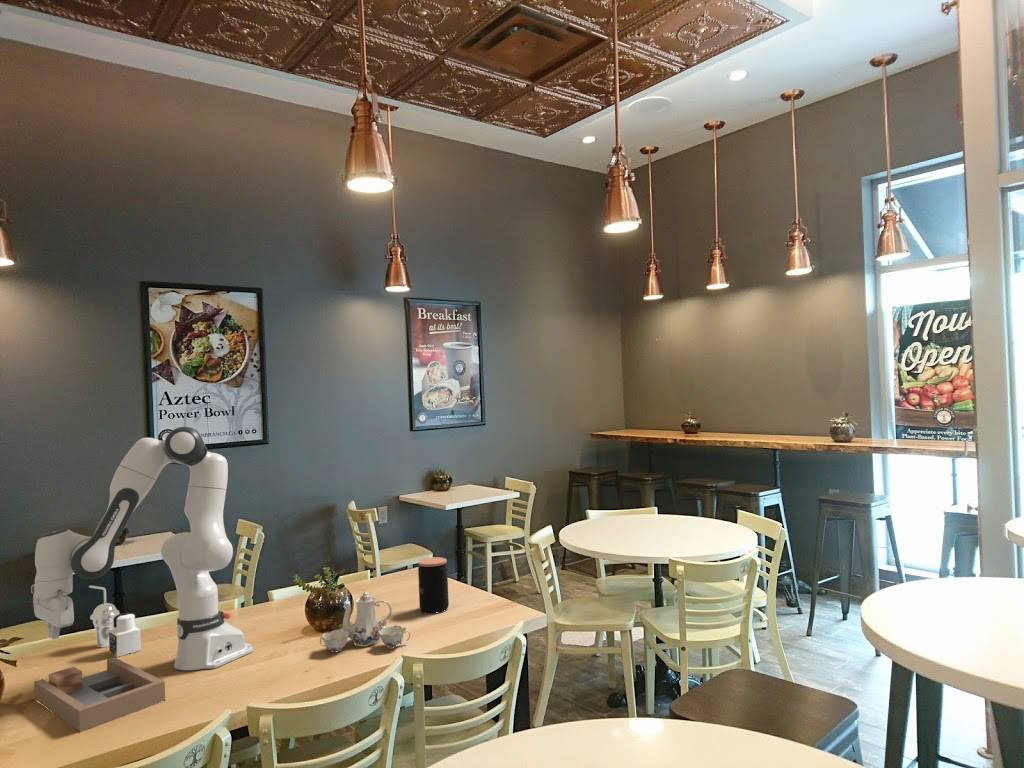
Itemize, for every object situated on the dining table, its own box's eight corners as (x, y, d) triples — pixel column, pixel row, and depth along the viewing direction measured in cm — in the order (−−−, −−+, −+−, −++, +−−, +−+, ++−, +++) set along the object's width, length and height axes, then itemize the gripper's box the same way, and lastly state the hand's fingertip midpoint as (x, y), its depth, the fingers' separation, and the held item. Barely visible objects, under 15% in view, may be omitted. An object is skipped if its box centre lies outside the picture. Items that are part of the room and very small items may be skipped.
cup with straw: (99, 651, 215) (98, 589, 216) (84, 647, 220) (82, 587, 220) (125, 642, 223) (124, 582, 223) (110, 639, 227) (109, 580, 228)
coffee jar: (424, 605, 250) (422, 557, 251) (451, 605, 248) (449, 557, 249) (416, 614, 239) (414, 564, 240) (445, 614, 238) (442, 563, 238)
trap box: (114, 674, 195) (114, 657, 195) (165, 700, 176) (164, 681, 176) (34, 700, 179) (34, 681, 180) (80, 732, 160) (79, 711, 160)
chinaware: (317, 664, 200) (315, 611, 199) (322, 640, 216) (320, 590, 215) (411, 654, 206) (409, 602, 204) (409, 630, 222) (407, 582, 221)
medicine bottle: (109, 652, 214) (108, 615, 214) (133, 646, 219) (132, 609, 219) (116, 657, 209) (115, 619, 209) (141, 650, 214) (140, 613, 215)
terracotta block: (74, 682, 185) (73, 666, 185) (82, 687, 181) (81, 671, 182) (49, 690, 180) (48, 674, 181) (57, 695, 177) (56, 678, 177)
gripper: (80, 590, 184) (80, 641, 183) (54, 581, 196) (54, 628, 195) (54, 595, 179) (53, 648, 178) (28, 586, 191) (28, 634, 190)
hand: (53, 637), depth 187 cm, fingers closed
